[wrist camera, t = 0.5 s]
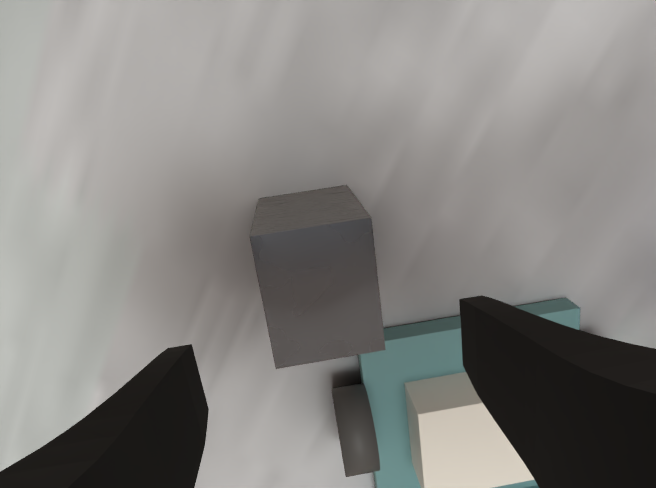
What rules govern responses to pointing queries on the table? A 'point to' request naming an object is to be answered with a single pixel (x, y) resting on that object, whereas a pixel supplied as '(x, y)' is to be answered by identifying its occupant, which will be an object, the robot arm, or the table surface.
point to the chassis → (429, 412)
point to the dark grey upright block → (317, 276)
